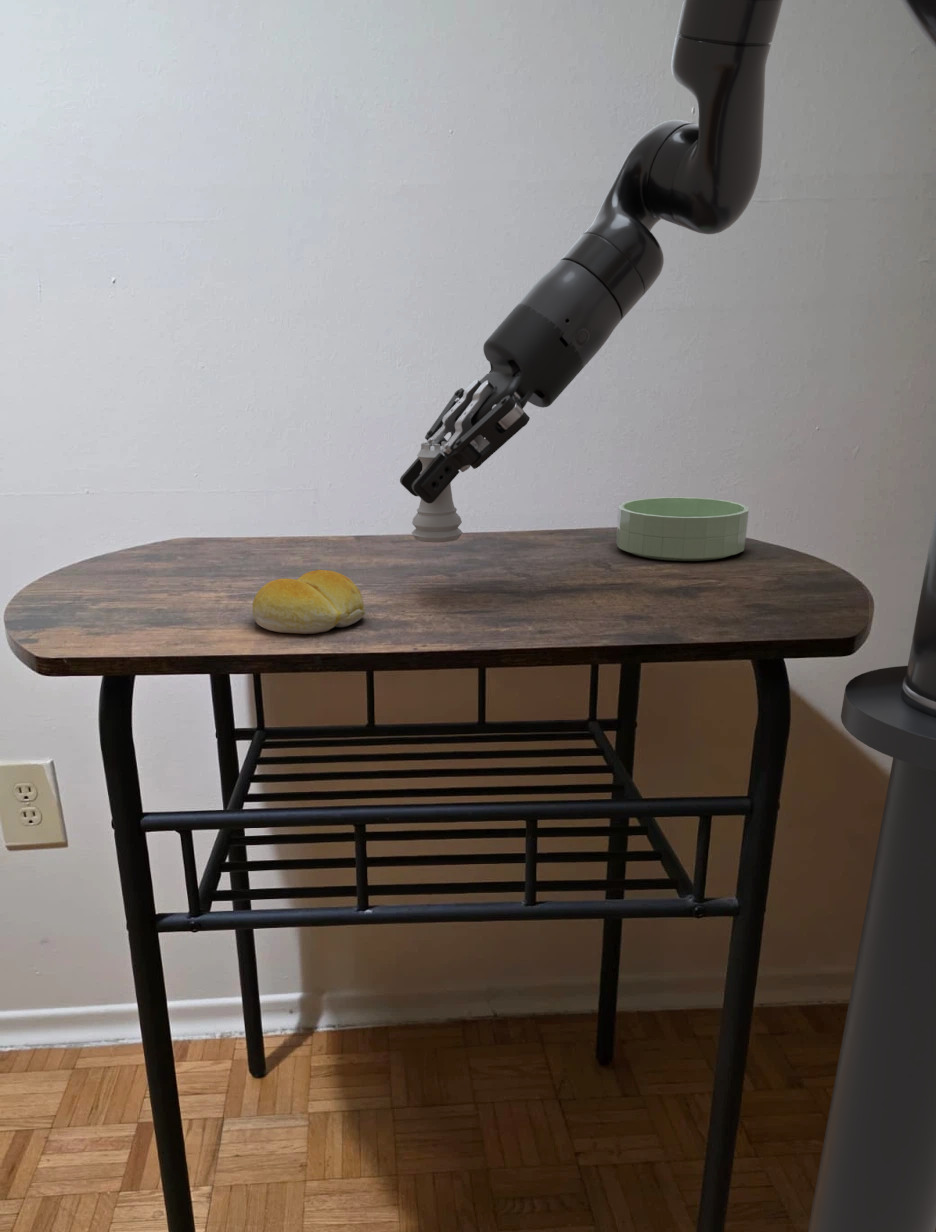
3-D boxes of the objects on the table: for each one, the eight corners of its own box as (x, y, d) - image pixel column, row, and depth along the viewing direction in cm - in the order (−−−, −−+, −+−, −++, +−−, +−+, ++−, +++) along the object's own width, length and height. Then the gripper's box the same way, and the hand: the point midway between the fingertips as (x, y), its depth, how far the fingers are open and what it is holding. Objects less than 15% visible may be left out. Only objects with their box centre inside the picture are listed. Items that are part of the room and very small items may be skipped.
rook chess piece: (408, 543, 83) (406, 446, 80) (414, 533, 87) (412, 440, 84) (460, 543, 82) (460, 445, 79) (464, 533, 86) (464, 439, 83)
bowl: (769, 557, 98) (775, 512, 96) (653, 567, 95) (656, 521, 94) (702, 534, 110) (705, 494, 108) (596, 542, 107) (598, 501, 105)
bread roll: (237, 621, 80) (233, 573, 79) (330, 603, 85) (328, 558, 84) (284, 643, 74) (280, 592, 73) (382, 623, 79) (380, 575, 77)
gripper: (493, 303, 85) (363, 453, 87) (557, 297, 72) (403, 473, 74) (548, 365, 88) (421, 509, 90) (617, 370, 76) (469, 537, 77)
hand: (414, 492), depth 82 cm, fingers closed on rook chess piece, 3 cm apart
